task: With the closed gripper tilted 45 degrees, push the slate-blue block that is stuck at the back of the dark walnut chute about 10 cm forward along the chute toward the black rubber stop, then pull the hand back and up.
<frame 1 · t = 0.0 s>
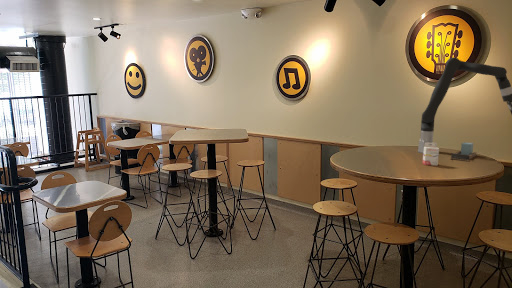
ink cartridge box: (430, 164, 261), on the table
slate block: (466, 149, 286), point 6 cm above the table, slide at 0.0 cm
walnut chute: (463, 158, 282), on the table
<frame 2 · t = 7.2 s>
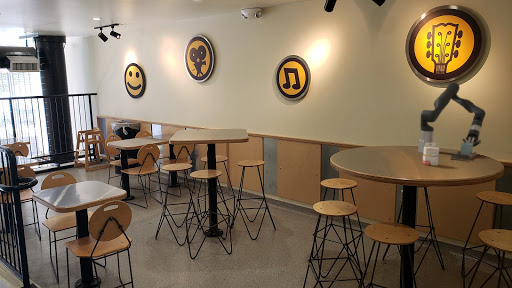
hand: (468, 150, 289), 5 cm above the table, tool tilted 45°, fingers closed
slate block: (466, 149, 285), point 6 cm above the table, slide at 0.9 cm, touching gripper
everything else where it was.
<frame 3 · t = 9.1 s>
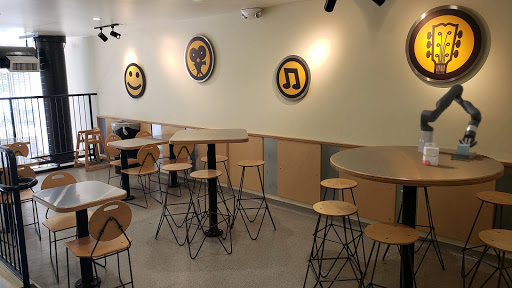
hand: (465, 151, 282), 5 cm above the table, tool tilted 45°, fingers closed
slate block: (463, 151, 279), point 6 cm above the table, slide at 10.2 cm, touching gripper
everything else where it was.
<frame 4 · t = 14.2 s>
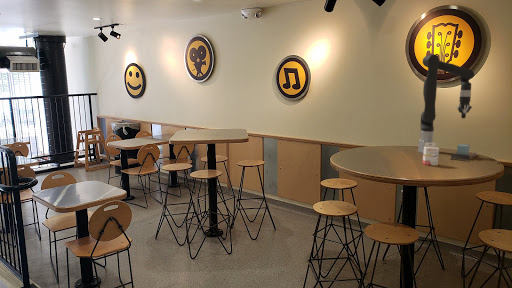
hand: (463, 118, 303), 27 cm above the table, tool pointing down, fingers closed
slate block: (463, 151, 278), point 6 cm above the table, slide at 10.5 cm
everything else where it was.
at the end: slate block slide at 10.5 cm; ink cartridge box moved 0.3 cm from its start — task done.
